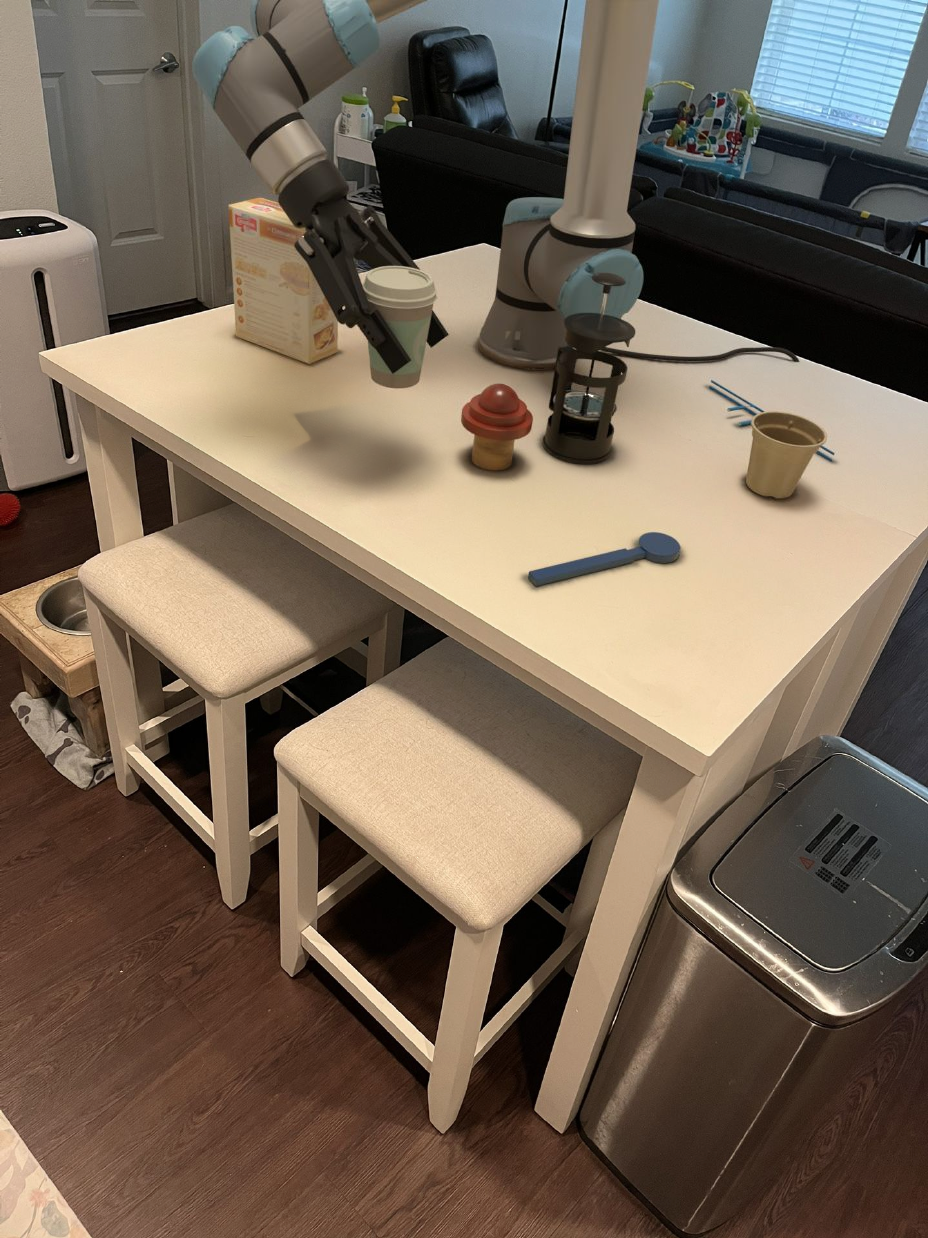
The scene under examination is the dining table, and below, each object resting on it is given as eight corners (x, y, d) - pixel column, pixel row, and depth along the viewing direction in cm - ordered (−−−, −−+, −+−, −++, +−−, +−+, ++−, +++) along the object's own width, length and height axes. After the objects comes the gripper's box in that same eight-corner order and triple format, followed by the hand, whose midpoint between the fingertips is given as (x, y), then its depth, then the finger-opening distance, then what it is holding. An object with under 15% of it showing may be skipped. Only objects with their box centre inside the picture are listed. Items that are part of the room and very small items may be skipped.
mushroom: (504, 439, 125) (514, 366, 118) (538, 471, 119) (551, 396, 113) (445, 449, 121) (452, 374, 115) (477, 482, 115) (487, 405, 109)
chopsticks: (809, 457, 126) (835, 452, 128) (687, 382, 142) (712, 379, 144) (806, 467, 127) (831, 461, 129) (685, 391, 143) (709, 387, 145)
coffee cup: (421, 399, 107) (428, 295, 99) (350, 386, 107) (351, 283, 100) (438, 369, 113) (445, 270, 106) (371, 358, 114) (373, 259, 106)
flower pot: (793, 514, 117) (816, 453, 111) (722, 489, 120) (741, 428, 115) (813, 485, 123) (835, 427, 118) (745, 462, 127) (764, 404, 121)
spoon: (661, 536, 110) (663, 528, 109) (686, 558, 106) (689, 550, 106) (520, 569, 101) (521, 561, 101) (543, 594, 98) (544, 586, 97)
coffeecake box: (339, 352, 142) (341, 219, 130) (309, 365, 137) (308, 229, 125) (265, 324, 148) (260, 195, 136) (234, 336, 143) (226, 203, 131)
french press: (628, 459, 124) (668, 287, 110) (572, 472, 120) (605, 295, 105) (576, 420, 131) (607, 255, 117) (522, 431, 127) (547, 261, 113)
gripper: (334, 180, 112) (441, 341, 117) (223, 218, 96) (353, 402, 102) (373, 140, 107) (483, 310, 112) (263, 174, 91) (397, 368, 97)
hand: (421, 353), depth 107 cm, fingers closed on coffee cup, 8 cm apart
